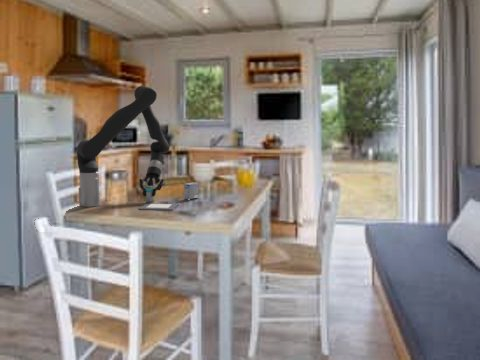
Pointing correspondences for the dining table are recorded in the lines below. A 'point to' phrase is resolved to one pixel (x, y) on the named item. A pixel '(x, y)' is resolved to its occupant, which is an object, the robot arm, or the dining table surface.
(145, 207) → the writing mat
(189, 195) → the medicine box
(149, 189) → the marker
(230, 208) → the dining table surface
